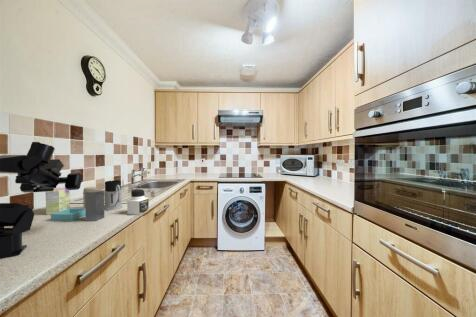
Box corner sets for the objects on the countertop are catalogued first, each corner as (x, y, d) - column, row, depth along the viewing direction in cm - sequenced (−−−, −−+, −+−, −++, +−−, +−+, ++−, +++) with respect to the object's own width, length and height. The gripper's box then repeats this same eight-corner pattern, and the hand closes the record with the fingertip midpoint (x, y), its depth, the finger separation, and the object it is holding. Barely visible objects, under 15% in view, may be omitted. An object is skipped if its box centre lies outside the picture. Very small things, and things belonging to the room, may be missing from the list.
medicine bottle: (139, 215, 98) (139, 190, 98) (127, 214, 100) (126, 190, 100) (148, 211, 105) (148, 188, 105) (137, 210, 107) (136, 188, 107)
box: (57, 209, 108) (56, 187, 108) (70, 208, 110) (69, 187, 110) (45, 215, 98) (44, 191, 98) (59, 214, 100) (59, 190, 100)
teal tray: (71, 221, 89) (71, 214, 89) (50, 220, 90) (50, 214, 90) (88, 214, 99) (88, 208, 99) (69, 214, 99) (69, 208, 99)
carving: (92, 207, 112) (91, 186, 112) (101, 208, 110) (101, 187, 110) (80, 210, 106) (79, 188, 106) (89, 211, 104) (89, 188, 104)
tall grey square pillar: (96, 221, 89) (96, 192, 89) (85, 220, 90) (85, 192, 89) (104, 217, 94) (104, 190, 94) (94, 217, 95) (93, 190, 94)
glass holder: (119, 205, 117) (118, 179, 117) (128, 209, 108) (128, 182, 107) (101, 208, 110) (101, 181, 110) (110, 213, 101) (109, 183, 101)
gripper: (74, 154, 76) (94, 170, 90) (15, 156, 72) (45, 172, 86) (67, 182, 71) (89, 194, 85) (3, 185, 68) (37, 197, 81)
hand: (65, 189), depth 84 cm, fingers open, 9 cm apart
